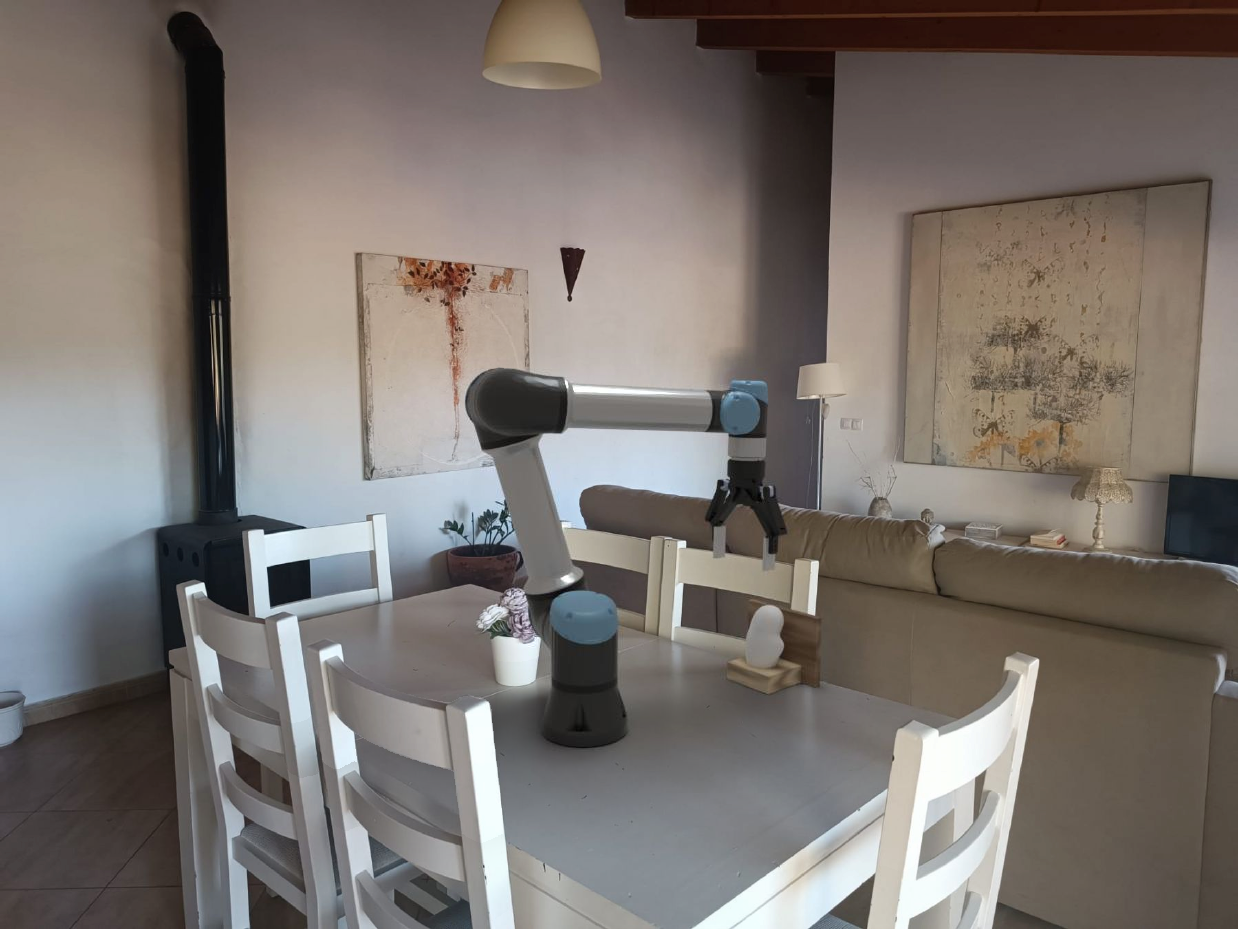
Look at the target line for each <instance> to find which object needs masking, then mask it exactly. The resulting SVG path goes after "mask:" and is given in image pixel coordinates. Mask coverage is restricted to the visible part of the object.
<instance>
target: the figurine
mask: <svg viewBox="0 0 1238 929" xmlns="http://www.w3.org/2000/svg"><path fill="white" fill-rule="evenodd" d="M783 624H784V618H783V614H782V612H781V611H780V609H779V608H777V607H775V606H772V605H766V606H762V607H761V608H759V609H758V610H757V611H756V613H755V614H754V616H753V618H752V621H751V624H750V627H749V630H748V629H747V633H746V637H745V646H744V648H745V650H744V652H745V656H746V660H747V664H748V665H750V666H752V667H756V668H771V667H774V666H776V664H777V662H778V660H779V656H780V654H781V653H782V651H783V648H784V643H783V641H782V639H781V638H780V632H781V629H782V627H783Z"/></svg>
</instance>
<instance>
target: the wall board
mask: <svg viewBox="0 0 1238 929" xmlns="http://www.w3.org/2000/svg"><path fill="white" fill-rule="evenodd" d="M747 601H748V603H747V604H748V605H747V607H748V609H747V615H748V616H747V617H748V618H747V631H748V630H749V627H750V624H751V621H752V618H753V616H754V614H755V613H756V611H757V610H758V609H759V608H761V607H762V606H766V605H772V606H775V607H777V608H779V609H780V611H781V612H782V614H783V618H784V624H783V627H782V629H781V632H780V638H781V639H782V641H783V643H784V648H783V651H782V653H781V654H780V656H779V660H778V662H777V664H776V666H774V667H771V668H756V667H752V666H750V665H748V664H747V660H746V655H745V656H743V657H739V658H736V659H733V660H730V661H727V663H726V679H727V680H729V681H732V682H734V683H738V684H740V685H743V686H746V687H748V688H751V689H753V690H756V691H759V692H762V693H764V694H767V695H770V694H773V693H775V692H778V691H782V690H783V689H786V688H790V687H792V686H795V685H797V683H798V684H805V685H807V686H810V687H814V688H817V687H820V684H821V653H822V652H821V650H822V648H821V647H822V644H821V643H822V617H821V616H818V615H814V614H809V613H806V612H803V611H799V610H795V609H792V608H788V607H785V606H780V605H777V604H773V603H771V602H770V603H769V602H766V601H761V600H759V599H755V598H751V599H748V600H747Z"/></svg>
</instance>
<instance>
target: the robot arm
mask: <svg viewBox="0 0 1238 929" xmlns="http://www.w3.org/2000/svg"><path fill="white" fill-rule="evenodd" d="M769 404H770V403H769V391H768V385H767V383H766V382H765V381H762V380H732V381H731V382H730V383H729V388H728V389H726V390H725V389H724V390H718V389H717V390H716V389H692V388H689V389H688V388H669V387H648V386H631V385H630V386H629V385H609V384H590V383H576V382H575V383H570V382H569V381H568V379H567V378H566V377H565V376H556V375H555V376H553V375H545V374H539V373H534V372H529V371H525V370H522V369H518V368H508V367H507V368H505V367H496V368H488V369H487V370H484V371H482V372H481V373H479V374H478V375H477V376H475V377H474V379H472V381H471V382H470V384H469V385H468V387H467V390H466V392H465V397H464V407H465V408H464V409H465V411H466V415H467V417H468V418H469V420H470V422H472V424H473V426H474V429H475V433H476V436H477V439H478V442H479V445H480V448H481V451H482V452H483V453H485V454H487V455H489V456H491V457H492V460H493V463H494V466H495V470H496V474H497V476H498V480H499V483H500V486H501V490H502V493H503V497H504V500H505V503H506V507H507V511H508V513H509V516H510V519H511V523H512V527H513V530H514V534H515V537H516V540H517V544H518V546H519V550H520V554H521V558H522V559H523V560H522V561H523V563H524V567H525V570H526V574H527V577H528V579H527V581H526V583H524V585H523V592H524V595H525V598H526V602H527V613H528V617H527V618H528V621H529V623H530V626H531V628H532V630H533V631H534V633H535V635H536V636H538V638H540V639H541V641H542V642H543V643H544V644H545V645H546V647H547V648H548V649H549V650H550V677H551V679H550V682H551V686H550V691H549V695H548V698H547V699H546V700H547V701H546V704H545V706H544V707H545V708H544V711H543V713H542V716H541V732H542V735H543V736H544V737H545V738H546V739H548V740H549V741H551V742H553V743H555V744H559V745H561V746H562V745H563V746H568V747H575V748H576V747H577V748H579V747H580V748H588V747H589V748H590V747H598V746H604V745H608V744H611V743H614V742H616V741H618V740H620V739H621V738H623V737H624V736H626V734H627V733H628V729H629V726H628V725H629V724H628V721H629V718H628V712H627V711H626V707H625V704H624V701H623V697H622V695H621V692H620V690H619V683H618V682H619V681H618V680H619V678H618V676H619V674H618V673H619V671H618V668H619V665H618V664H619V663H618V662H619V661H618V659H619V658H618V657H619V655H618V654H619V651H618V649H619V648H618V647H619V642H618V641H619V639H618V638H619V634H618V633H619V624H620V622H619V616H618V609H617V608H618V607H617V605H616V603H615V602H614V601H613V599H612V598H610V597H609V596H608V595H605V594H603V593H597V591H591V590H589V588H588V584H587V581H586V580H587V579H586V577H585V574H584V573H585V572H584V570H583V569H582V568H580V567H578V566H575V565H574V564H573V561H572V557H571V553H570V551H569V547H568V543H567V540H566V536H565V533H564V530H563V526H562V523H561V519H560V515H559V513H558V509H557V506H556V503H555V502H556V501H555V498H554V494H553V491H552V489H551V485H550V480H549V477H548V473H547V471H546V467H545V464H544V460H543V457H542V452H541V450H540V447H539V446H540V445H539V442H540V441H541V439H542V437H543V436H544V434H553V435H555V434H556V435H557V434H558V435H562V434H563V433H565V432H566V431H567V430H568V429H590V430H591V429H595V430H621V431H623V430H627V431H652V432H653V431H654V432H655V431H657V432H660V431H661V432H662V431H663V432H689V433H690V432H692V433H693V432H694V433H711V434H713V433H714V434H716V433H717V434H718V433H719V434H727V436H728V440H727V456H728V457H729V459H728V460H727V464H726V465H727V467H726V468H727V469H726V476H727V477H728V478H722V479H717V481H716V490H715V493H714V494H713V497H712V499H711V502H710V503H709V506H708V509H707V511H706V513H705V514H706V515H705V516H704V521H705V522H706V523H707V522H708V523H709V524H710V525H711V540H712V542H713V544H712V545H713V547H712V548H713V550H712V559H715V560H716V559H721V558H725V557H726V539H727V538H726V537H727V536H726V534H727V531H726V530H727V526H726V524H725V522H726V521H727V519H728V518H729V516H730V515H731V514H732V513H733V511H734V509H736V507H737V506H738V505H742V506H746V507H749V508H750V509H751V510H753V512H754V514H755V516H756V518H757V519H758V521H759V524H760V526H761V527H762V529H763V531H764V533H765V534H766V535H765V536H764V537H763V541H762V542H763V543H762V546H763V548H762V569H761V570H762V571H764V572H767V571H773V570H775V568H776V563H775V562H776V555H777V554H778V551H779V538H780V537H782V536H786V535H788V530H787V526H786V524H785V520H784V517H783V514H782V510H781V508H780V505H779V501H778V498H777V488H776V485H765V486H764V484H763V480H764V479H765V477H766V461H765V459H764V458H766V455H767V454H766V453H767V434H768V432H767V431H768V429H767V428H768V412H769V411H768V410H769Z"/></svg>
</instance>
